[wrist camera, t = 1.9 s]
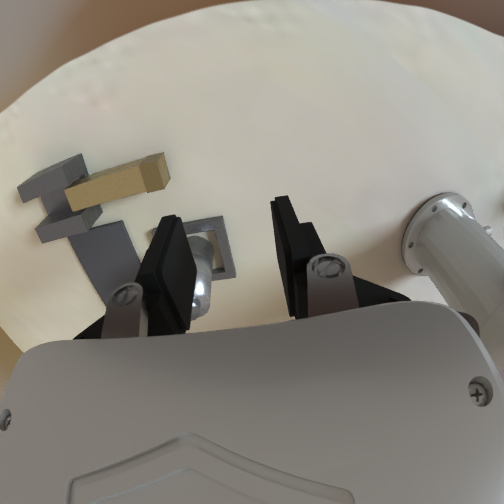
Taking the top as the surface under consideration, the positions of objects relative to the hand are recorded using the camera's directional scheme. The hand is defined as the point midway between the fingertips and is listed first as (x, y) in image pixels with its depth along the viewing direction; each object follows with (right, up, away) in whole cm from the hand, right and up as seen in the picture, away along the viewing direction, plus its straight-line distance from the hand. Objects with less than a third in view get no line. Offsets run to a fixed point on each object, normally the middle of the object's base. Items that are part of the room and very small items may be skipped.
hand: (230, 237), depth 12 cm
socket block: (-19, +6, +13) cm, 24 cm away
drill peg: (-5, -1, +19) cm, 19 cm away
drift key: (-12, +6, +12) cm, 18 cm away
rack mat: (-16, -4, +20) cm, 26 cm away
